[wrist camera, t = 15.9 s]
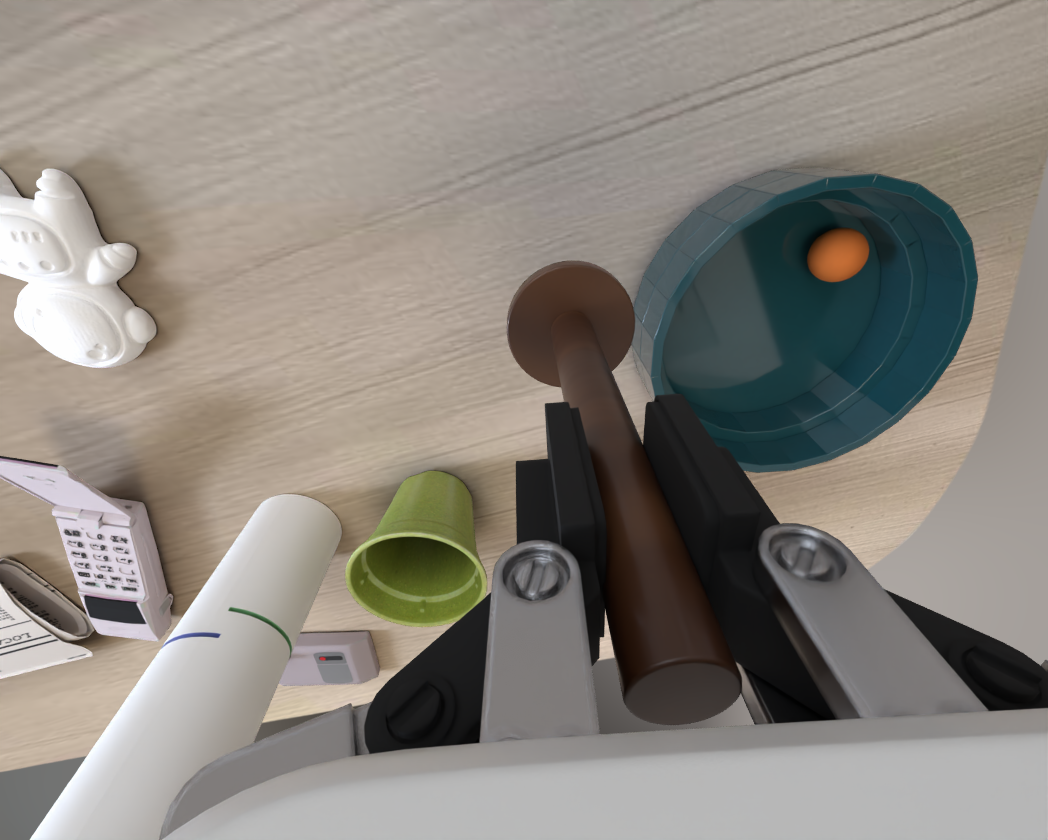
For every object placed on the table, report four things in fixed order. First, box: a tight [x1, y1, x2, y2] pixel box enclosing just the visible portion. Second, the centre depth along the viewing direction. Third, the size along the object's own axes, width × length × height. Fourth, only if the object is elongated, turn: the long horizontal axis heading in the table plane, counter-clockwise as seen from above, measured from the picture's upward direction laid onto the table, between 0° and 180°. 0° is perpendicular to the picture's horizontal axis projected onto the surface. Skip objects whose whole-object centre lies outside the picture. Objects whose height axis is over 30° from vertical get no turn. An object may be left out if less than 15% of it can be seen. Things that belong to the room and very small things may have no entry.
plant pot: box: [345, 471, 487, 627], centre depth 35 cm, size 9×9×9 cm
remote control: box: [279, 631, 393, 686], centre depth 48 cm, size 7×16×3 cm, turn 91°
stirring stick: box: [507, 261, 742, 725], centre depth 13 cm, size 5×5×15 cm
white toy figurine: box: [0, 169, 156, 368], centre depth 28 cm, size 9×12×3 cm
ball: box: [807, 228, 869, 282], centre depth 27 cm, size 3×3×3 cm
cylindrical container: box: [30, 494, 342, 840], centre depth 30 cm, size 7×7×25 cm
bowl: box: [631, 167, 978, 473], centre depth 29 cm, size 17×17×6 cm
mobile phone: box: [0, 456, 173, 641], centre depth 38 cm, size 6×6×25 cm
